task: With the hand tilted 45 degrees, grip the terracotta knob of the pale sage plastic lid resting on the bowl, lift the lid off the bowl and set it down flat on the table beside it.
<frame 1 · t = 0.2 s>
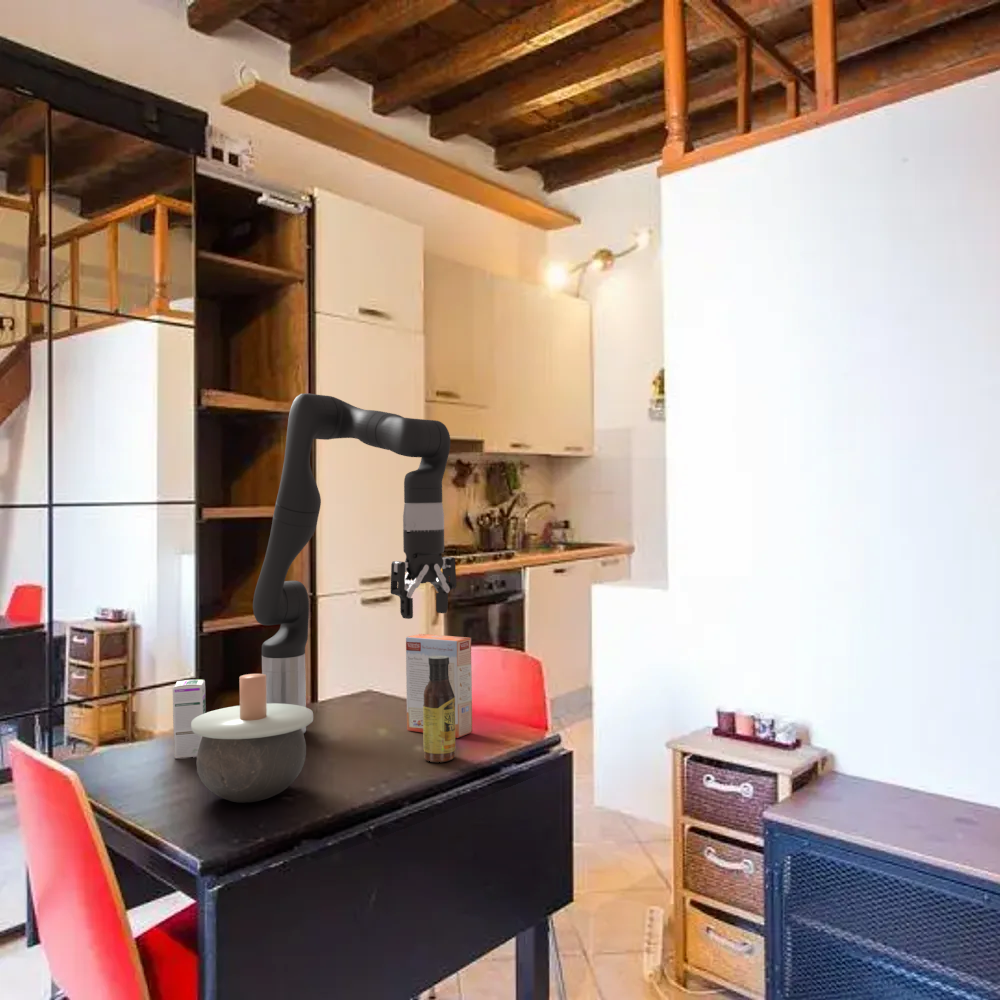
hand: (424, 615, 154), 29 cm above the table, tool pointing down, fingers open, 8 cm apart
bowl: (252, 797, 144), on the table, touching lid
syrup box: (190, 755, 169), on the table
sauce bottle: (439, 760, 164), on the table
lid: (253, 722, 144), point 13 cm above the table, touching bowl
cracker box: (439, 732, 183), on the table
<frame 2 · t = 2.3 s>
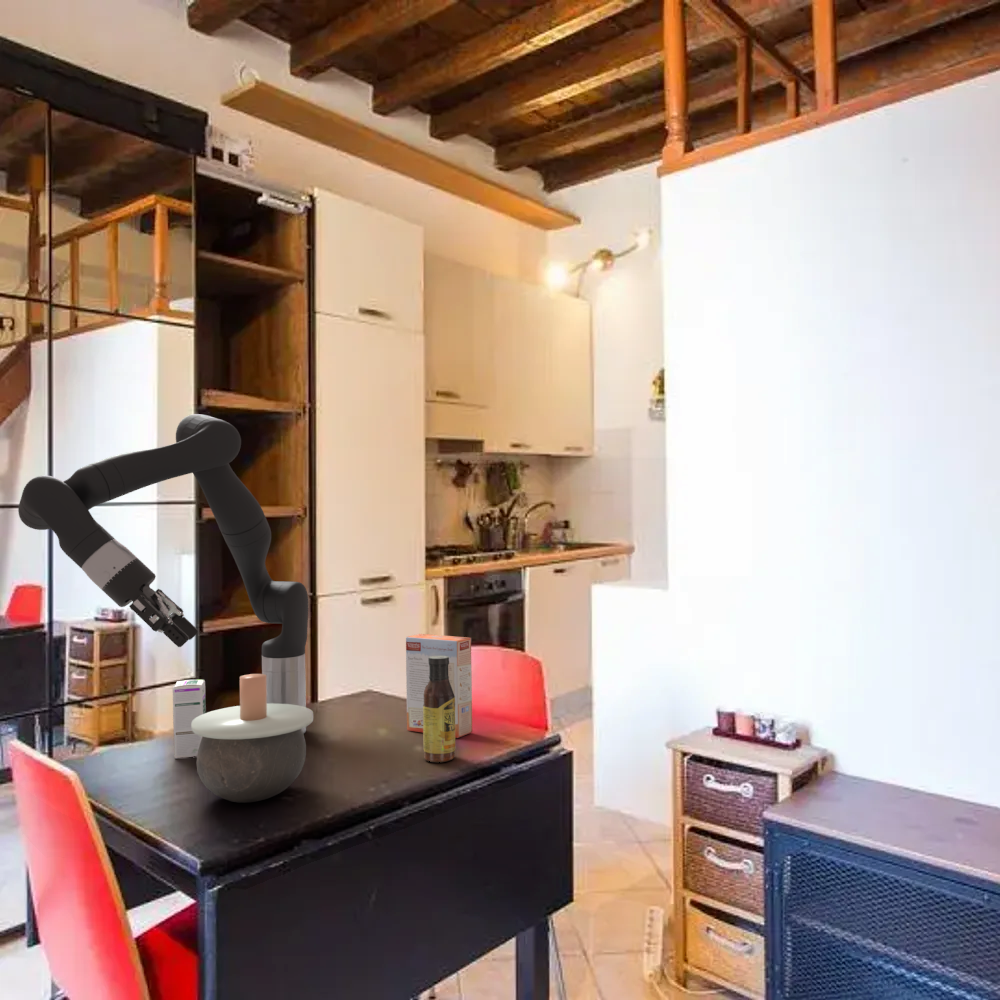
hand: (189, 639, 142), 27 cm above the table, tool tilted 45°, fingers open, 8 cm apart
nothing on the table moved.
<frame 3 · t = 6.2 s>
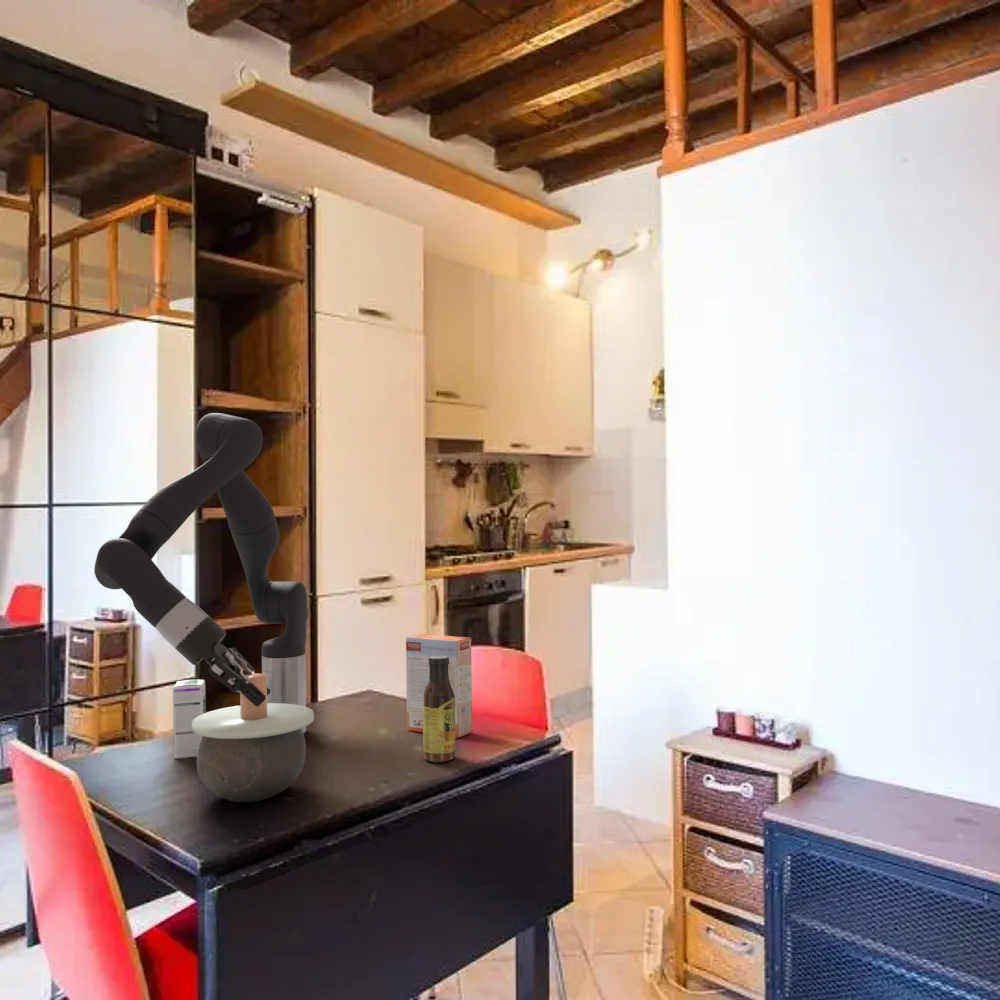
hand: (264, 698, 144), 17 cm above the table, tool tilted 45°, fingers closed on lid, 4 cm apart
lid: (254, 722, 144), point 13 cm above the table, touching bowl, gripper
everything else where it was.
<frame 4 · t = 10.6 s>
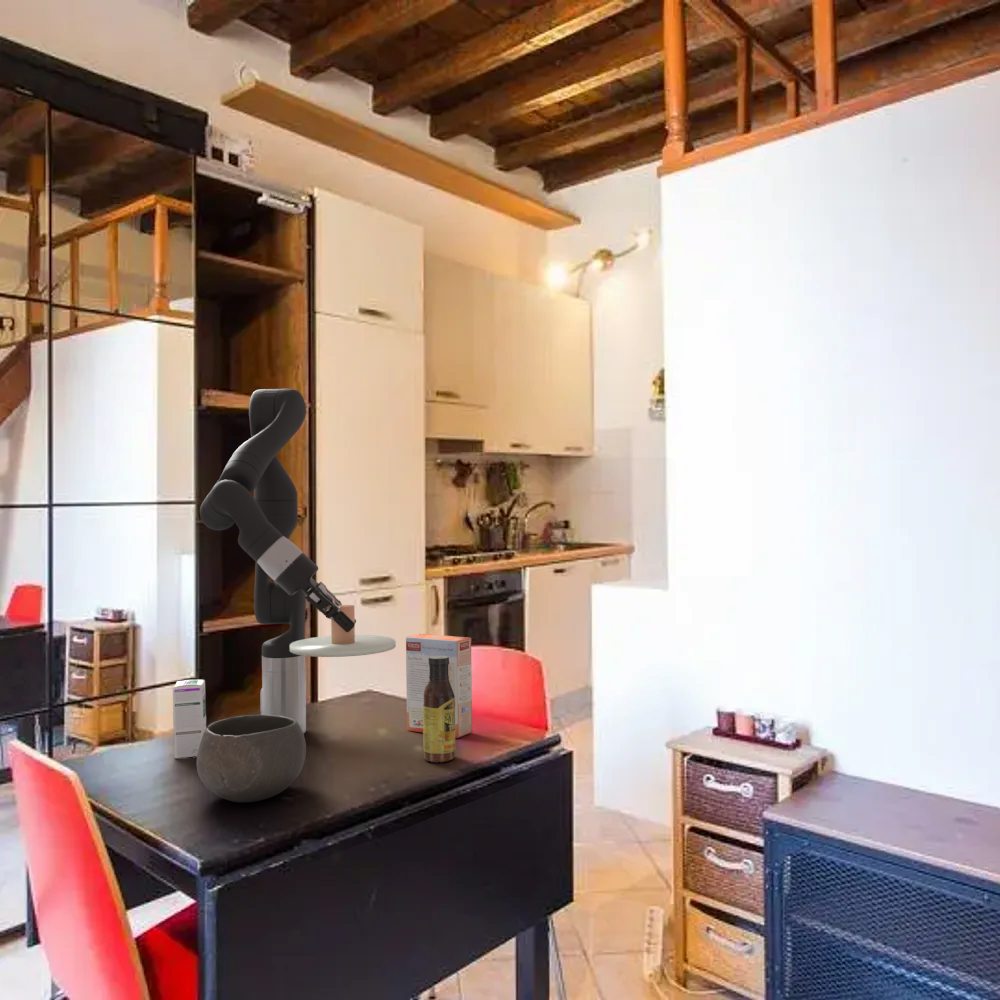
hand: (352, 626, 161), 26 cm above the table, tool tilted 45°, fingers closed on lid, 4 cm apart
bowl: (252, 797, 144), on the table
lid: (343, 647, 161), point 22 cm above the table, touching gripper
everything else where it was.
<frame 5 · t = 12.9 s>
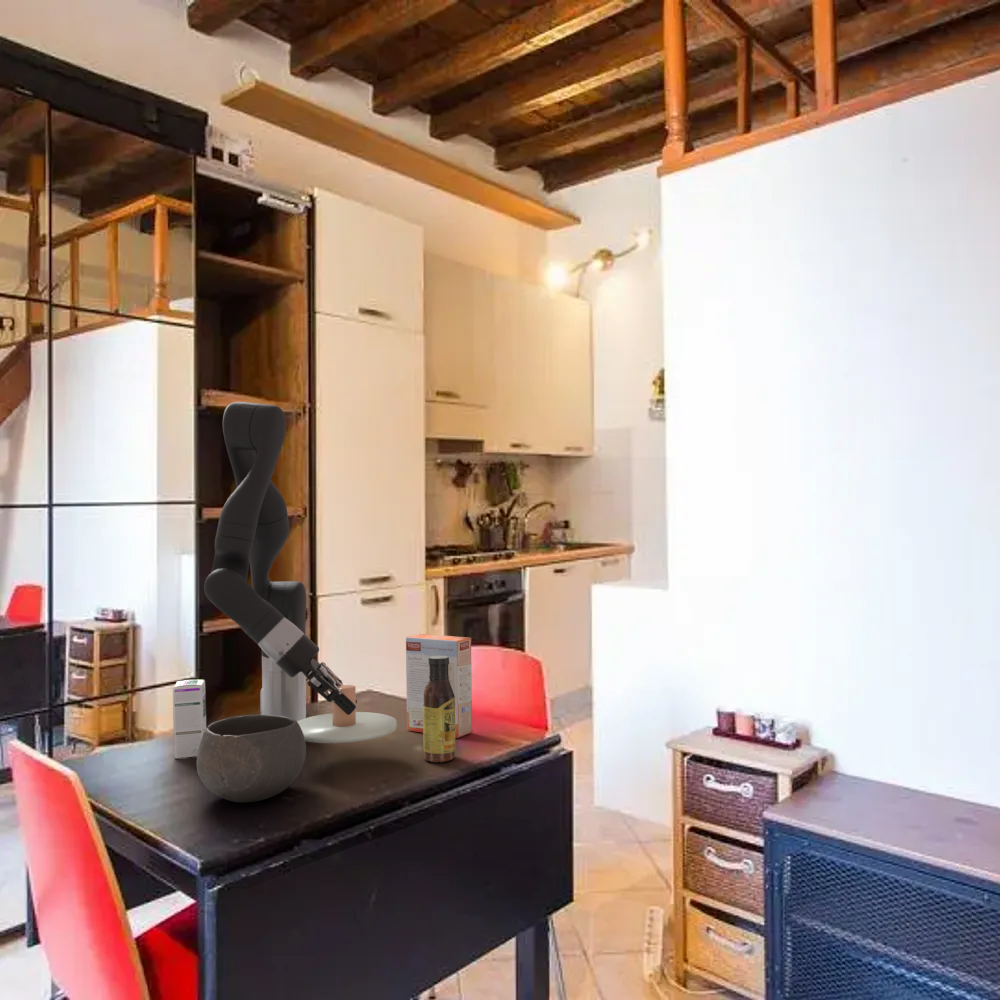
hand: (353, 707, 161), 11 cm above the table, tool tilted 45°, fingers closed on lid, 4 cm apart
lid: (344, 729, 161), point 7 cm above the table, touching gripper
everything else where it was.
when the fingers open (6 cm above the table, at t = 15.0 s): lid drops 2 cm, on the table.
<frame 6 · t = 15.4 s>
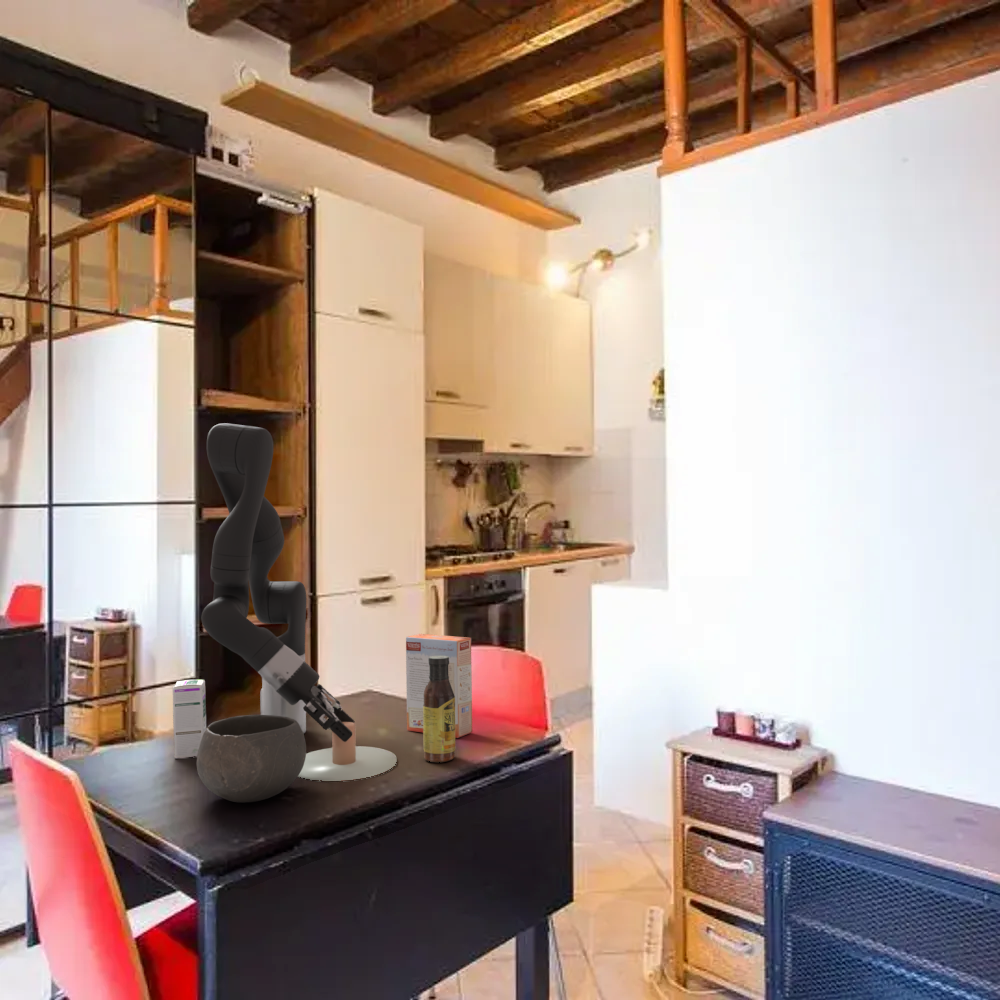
hand: (350, 732, 161), 6 cm above the table, tool tilted 45°, fingers open, 8 cm apart
lid: (344, 766, 161), on the table
everything else where it was.
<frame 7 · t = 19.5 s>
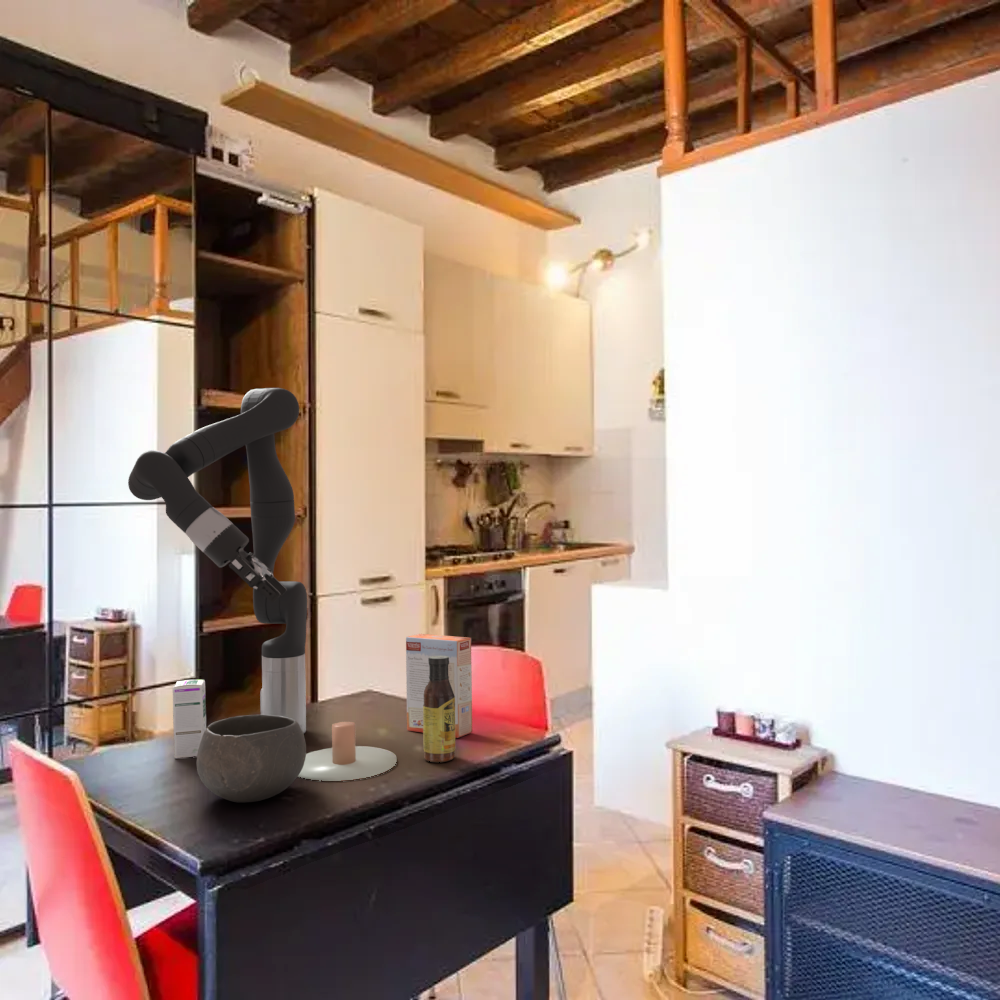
hand: (280, 596, 159), 33 cm above the table, tool tilted 45°, fingers open, 8 cm apart
nothing on the table moved.
at the end: lid inside the target area (0.1 cm from its centre), on the table; lid tilted 0°; lid touching table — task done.
